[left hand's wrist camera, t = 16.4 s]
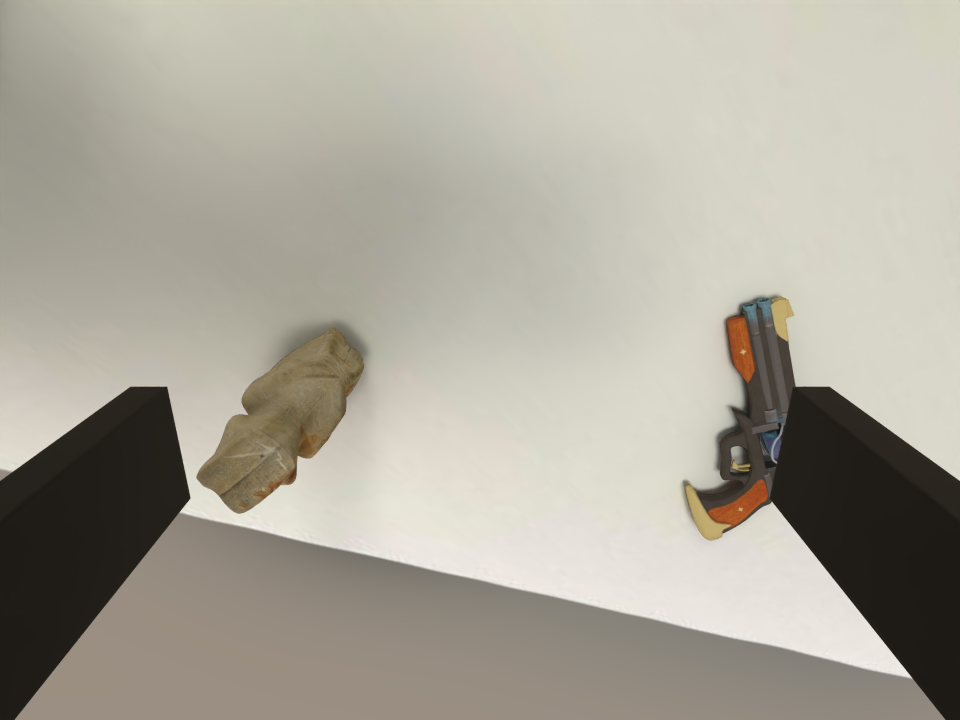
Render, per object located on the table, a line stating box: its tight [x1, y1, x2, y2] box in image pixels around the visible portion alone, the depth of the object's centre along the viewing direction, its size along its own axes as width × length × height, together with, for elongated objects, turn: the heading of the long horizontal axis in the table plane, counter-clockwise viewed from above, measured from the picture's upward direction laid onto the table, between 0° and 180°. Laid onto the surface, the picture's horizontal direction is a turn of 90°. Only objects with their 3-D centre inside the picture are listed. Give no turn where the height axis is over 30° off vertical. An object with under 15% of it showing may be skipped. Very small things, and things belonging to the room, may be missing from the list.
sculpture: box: [197, 328, 364, 514], centre depth 37 cm, size 6×7×15 cm
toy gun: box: [686, 297, 796, 540], centre depth 45 cm, size 3×19×10 cm
